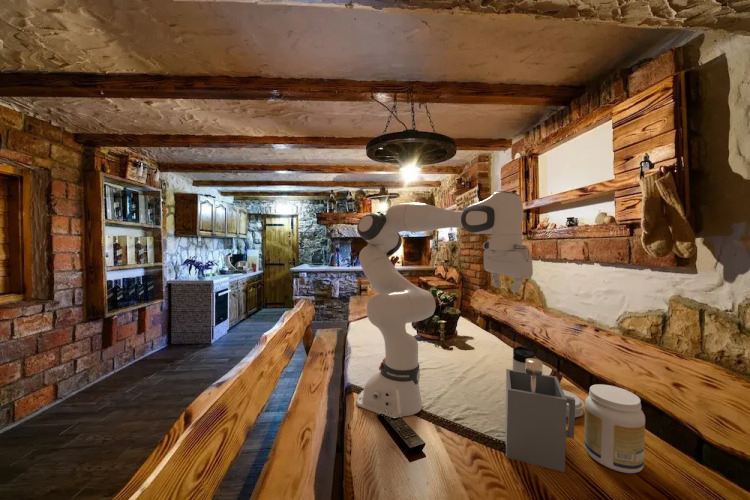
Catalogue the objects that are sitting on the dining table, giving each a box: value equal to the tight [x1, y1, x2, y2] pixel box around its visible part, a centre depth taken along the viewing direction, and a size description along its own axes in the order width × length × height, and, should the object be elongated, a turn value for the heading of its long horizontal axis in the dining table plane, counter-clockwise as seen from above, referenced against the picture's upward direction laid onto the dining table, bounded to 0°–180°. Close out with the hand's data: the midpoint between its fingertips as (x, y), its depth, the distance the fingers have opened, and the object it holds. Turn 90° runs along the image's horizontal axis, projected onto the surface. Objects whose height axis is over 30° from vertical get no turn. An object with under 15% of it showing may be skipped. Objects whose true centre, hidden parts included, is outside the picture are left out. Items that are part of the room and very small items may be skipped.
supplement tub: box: [583, 383, 646, 474], centre depth 77 cm, size 12×12×17 cm
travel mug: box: [512, 345, 535, 372], centre depth 100 cm, size 6×7×20 cm
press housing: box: [504, 368, 576, 473], centre depth 80 cm, size 16×13×18 cm
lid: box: [562, 389, 585, 418], centre depth 100 cm, size 13×13×5 cm
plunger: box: [525, 358, 543, 393], centre depth 81 cm, size 10×10×22 cm
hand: (505, 289), depth 92 cm, fingers open, 8 cm apart
